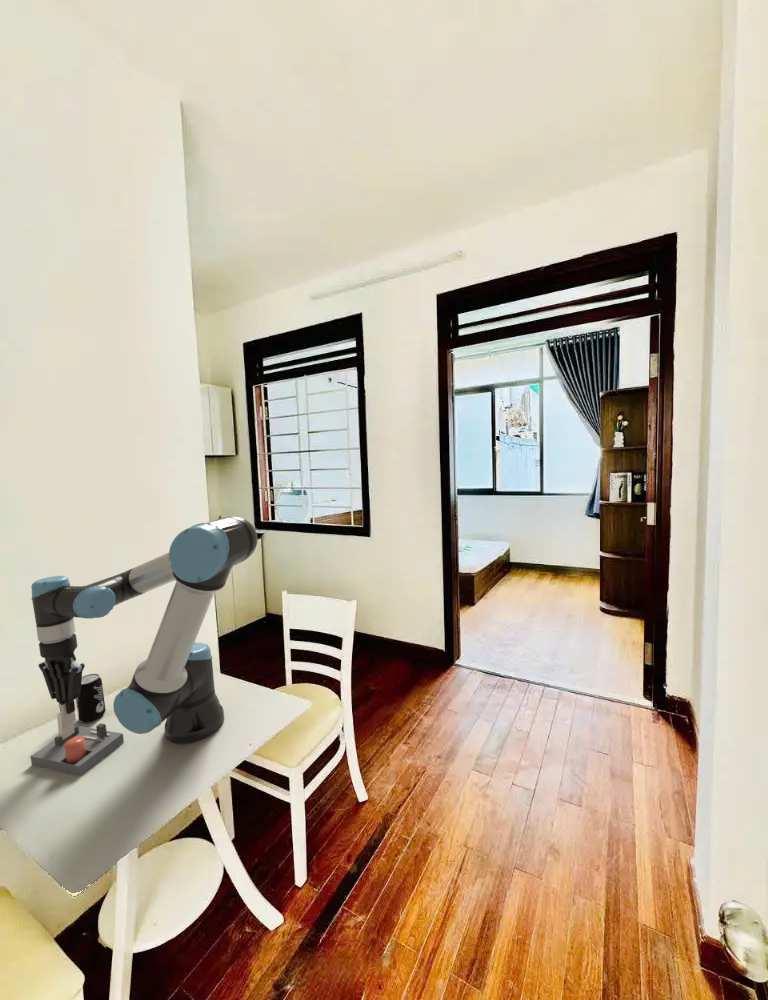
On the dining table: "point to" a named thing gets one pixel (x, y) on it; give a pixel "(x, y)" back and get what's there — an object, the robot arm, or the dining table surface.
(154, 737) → the dining table surface
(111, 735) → the panel
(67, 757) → the button
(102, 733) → the slider
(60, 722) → the toggle
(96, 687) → the beverage can
